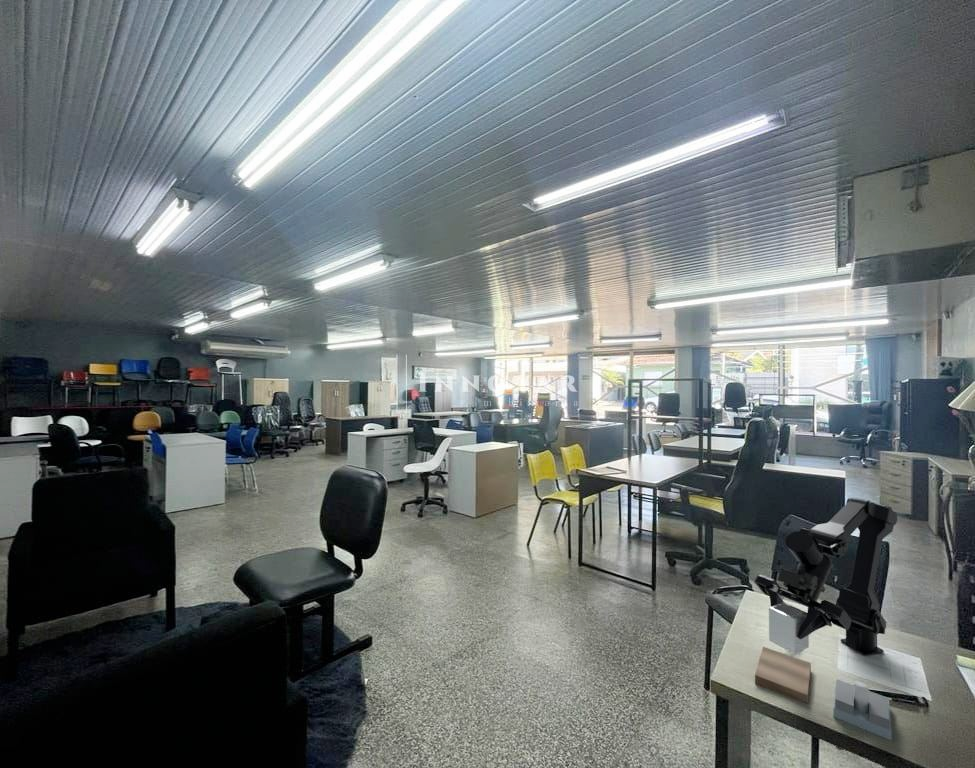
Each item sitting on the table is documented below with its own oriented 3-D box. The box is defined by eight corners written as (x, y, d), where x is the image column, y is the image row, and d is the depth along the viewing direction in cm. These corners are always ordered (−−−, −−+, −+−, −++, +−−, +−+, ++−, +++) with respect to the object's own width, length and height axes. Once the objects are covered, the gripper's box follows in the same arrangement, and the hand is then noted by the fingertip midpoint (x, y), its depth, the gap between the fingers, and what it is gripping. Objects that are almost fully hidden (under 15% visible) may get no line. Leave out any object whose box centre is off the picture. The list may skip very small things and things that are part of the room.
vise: (836, 688, 98) (835, 659, 98) (889, 708, 92) (888, 677, 92) (833, 716, 90) (833, 684, 90) (891, 740, 84) (891, 705, 84)
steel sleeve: (783, 634, 102) (782, 601, 102) (808, 647, 97) (808, 613, 97) (769, 640, 100) (768, 607, 100) (794, 654, 95) (794, 619, 95)
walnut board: (763, 654, 110) (763, 646, 110) (810, 670, 104) (810, 662, 104) (755, 683, 100) (755, 674, 100) (807, 703, 93) (807, 694, 93)
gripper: (758, 542, 109) (731, 594, 104) (844, 571, 92) (816, 635, 87) (776, 567, 112) (751, 618, 107) (862, 599, 95) (837, 661, 91)
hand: (785, 631), depth 98 cm, fingers closed on steel sleeve, 6 cm apart
